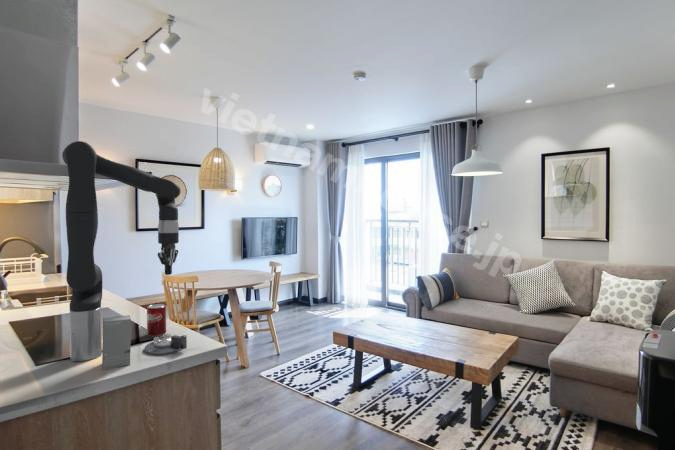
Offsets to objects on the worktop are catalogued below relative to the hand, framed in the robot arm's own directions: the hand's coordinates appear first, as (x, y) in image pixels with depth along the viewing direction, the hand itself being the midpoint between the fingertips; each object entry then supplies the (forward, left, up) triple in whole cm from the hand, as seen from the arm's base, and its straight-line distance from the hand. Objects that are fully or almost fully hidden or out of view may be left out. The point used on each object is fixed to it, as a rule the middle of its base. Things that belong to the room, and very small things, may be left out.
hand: (168, 274), depth 152 cm
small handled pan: (-3, -13, -25) cm, 28 cm away
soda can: (-2, +9, -27) cm, 28 cm away
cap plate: (-4, -10, -26) cm, 29 cm away
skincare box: (-21, -15, -27) cm, 37 cm away
